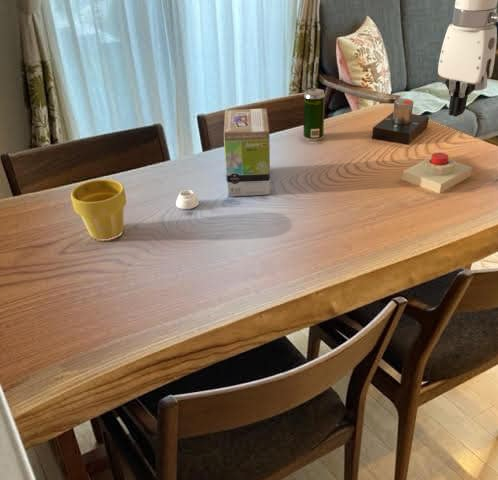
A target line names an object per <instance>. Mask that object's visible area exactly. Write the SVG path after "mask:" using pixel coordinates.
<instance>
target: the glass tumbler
mask: <svg viewBox="0 0 498 480" xmlns="http://www.w3.org/2000/svg"><path fill="white" fill-rule="evenodd" d="M414 103H415V102H414V100H413V99H410V98H398V99H395V100H394V103H393V110H392V112H393V119H392V122H393V123H395V124H398V125H406V124H409V123H411V117H412V114H413V109H414Z"/></svg>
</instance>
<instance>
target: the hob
mask: <svg viewBox="0 0 498 480" xmlns="http://www.w3.org/2000/svg"><path fill="white" fill-rule="evenodd" d="M392 119H393V111H392V112H390V114H388V115H387V116H386V117H384V118H383V119H382V120H380V121H379V122H378V123H376V124H375V125H374V126H373V127H372V135H371V139H372V140H373V139H374V140H378V141H384V142H388V143H389V142H390V143H395V144H401V145H407V146H409V145H410V144H411V143H412V142H413V141H414V140H415V139H416V138H417V137H418V136H419V135H421V134H422V133H423V132H424V131H425V130H426V129H427V128H428V126H429V119H430V116H428V115H422V114H415V113H412V117H411V123H409V124H406V125H398V124H395V123H393V122H392Z"/></svg>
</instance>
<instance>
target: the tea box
mask: <svg viewBox="0 0 498 480" xmlns="http://www.w3.org/2000/svg"><path fill="white" fill-rule="evenodd" d="M270 144H271V143H270V126H269V117H268V110H267V108H247V109H245V108H244V109H227V110H225V111H224V123H223V148H224V161H225V162H224V163H225V177H226V192H227V196H228V197H249V196H265V195H270V193H271V152H270V151H271V145H270Z"/></svg>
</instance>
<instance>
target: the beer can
mask: <svg viewBox="0 0 498 480" xmlns="http://www.w3.org/2000/svg"><path fill="white" fill-rule="evenodd" d="M325 104H326V94H325V91H324V89H321V88H309V89H306V90H305V91H304V95H303V134H302V135H303V138H304V139H305V140H306V141H308V142H309V141H310V142H318V141H321V140H322V139H323V137H324V131H325V130H324V129H325V106H326V105H325Z"/></svg>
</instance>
